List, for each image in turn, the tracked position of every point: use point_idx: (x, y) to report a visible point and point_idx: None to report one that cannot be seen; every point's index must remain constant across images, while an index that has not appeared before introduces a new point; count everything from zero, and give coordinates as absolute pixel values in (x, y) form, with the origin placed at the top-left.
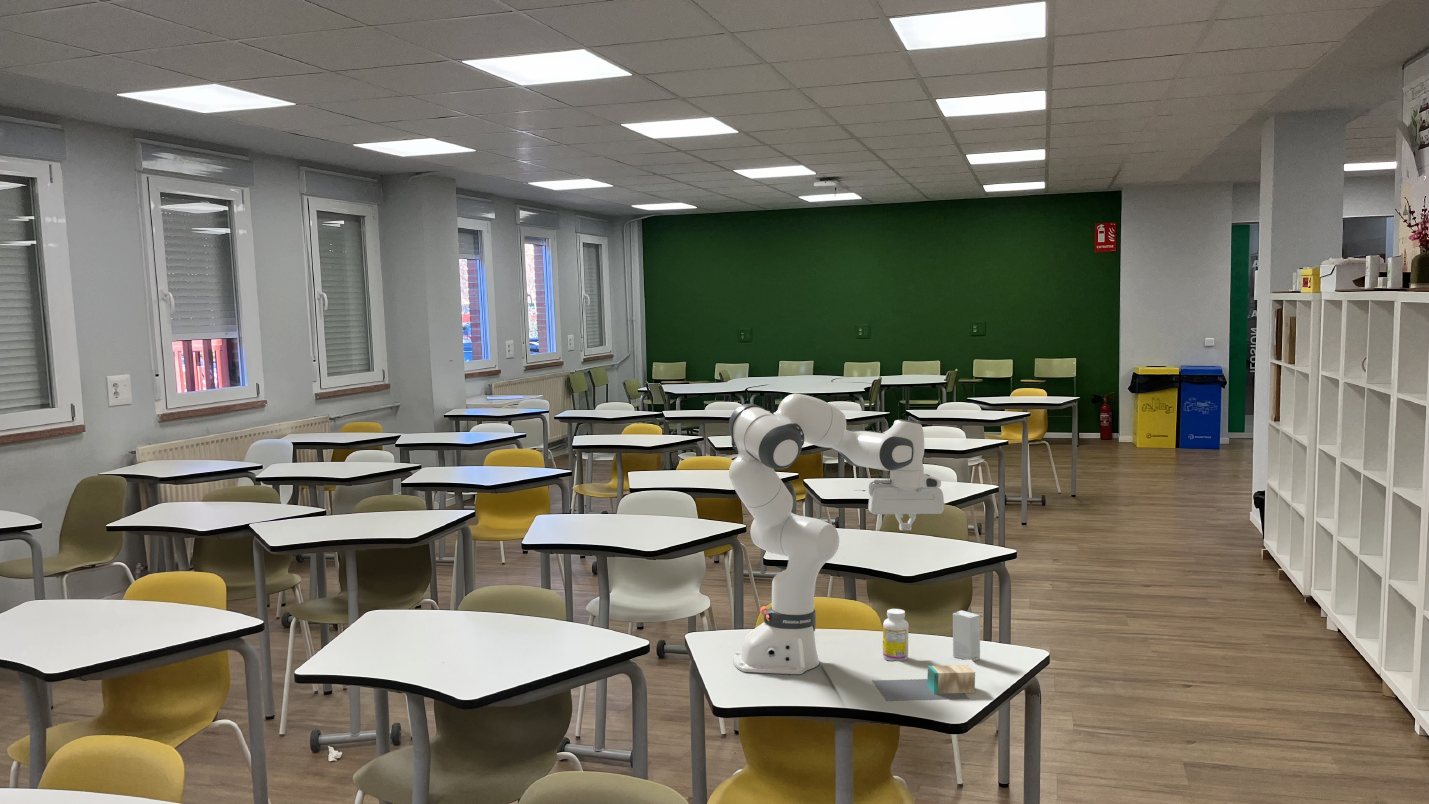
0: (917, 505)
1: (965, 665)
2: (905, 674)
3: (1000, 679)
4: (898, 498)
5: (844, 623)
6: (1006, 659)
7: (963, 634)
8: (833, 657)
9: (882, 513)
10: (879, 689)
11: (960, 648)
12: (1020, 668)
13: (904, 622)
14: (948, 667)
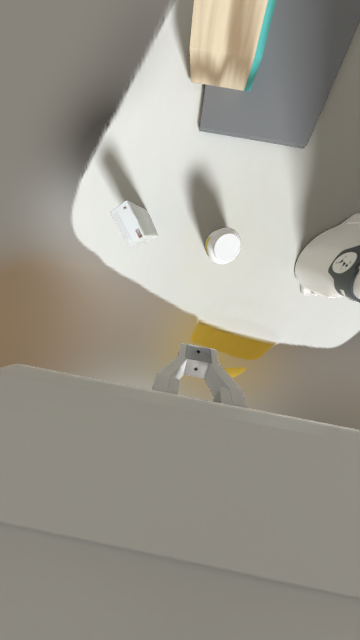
0: (127, 452)
1: (195, 43)
2: (237, 183)
3: (132, 129)
4: (323, 621)
5: (210, 337)
6: (106, 212)
7: (143, 217)
8: (275, 263)
9: (352, 431)
10: (329, 88)
11: (150, 223)
12: (98, 173)
13: (218, 235)
14: (231, 33)
